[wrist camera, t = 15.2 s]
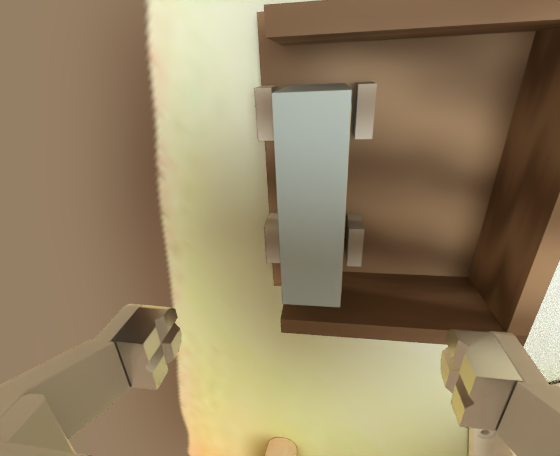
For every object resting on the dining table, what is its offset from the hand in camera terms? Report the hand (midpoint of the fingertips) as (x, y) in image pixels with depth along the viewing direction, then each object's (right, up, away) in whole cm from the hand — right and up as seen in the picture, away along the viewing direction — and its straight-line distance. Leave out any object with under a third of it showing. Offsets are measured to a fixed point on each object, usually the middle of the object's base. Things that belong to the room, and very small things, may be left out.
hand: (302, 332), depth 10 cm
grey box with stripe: (+2, +7, +13) cm, 15 cm away
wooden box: (+8, +8, +14) cm, 17 cm away
